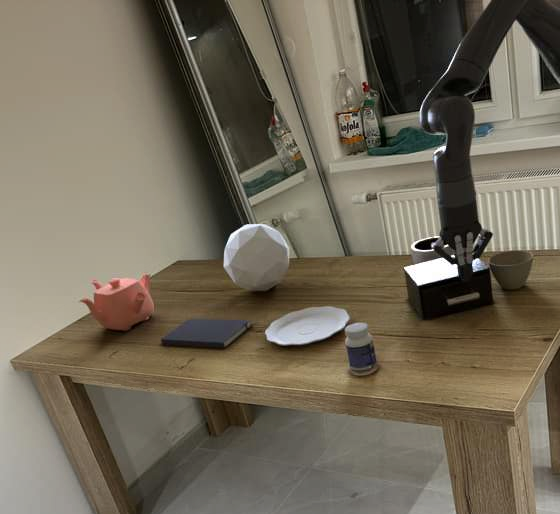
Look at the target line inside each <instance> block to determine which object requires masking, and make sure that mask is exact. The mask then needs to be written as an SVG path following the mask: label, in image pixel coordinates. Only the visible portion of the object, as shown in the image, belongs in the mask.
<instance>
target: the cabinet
mask: <svg viewBox="0 0 560 514" xmlns="http://www.w3.org/2000/svg"><path fill="white" fill-rule="evenodd" d="M451 257H455V256H454V255H453V256H451ZM472 265H473V275H477V274H481V273H483V274H484V273H489V274H490V285H491V295H492V302H488V303H484V304H480V305H476V306H472V307H468V308H464V309H460V310H455V311H451V312H447V313H443V314H439V315H435V316H431V317H427V318H426V316H425V312H424V305H423V298H422V291H421V289H422V288H424V287H428V286H432V285H436V284H440V283H444V282H448V281H452V280H456V279H460V277H459V276H458V269H457V265H456V264H454V265H451V264H450V263H449V262H448V261H446V260H445V259H444V258H441V259H437V260H433V261H429V262H425V263H420V264H416V265H409V266H408V265H407V266H405V267H403V272H404V278H405V285H406V291H407V298H408V301H409V302H410V304H411V305H412V307H413V308H414V309H415V311H416V312H417V314H418V315H419V316H420V318H421V319H422V320H423V321H424V320H428V319H432V318H437V317H440V316H445V315H449V314H452V313H457V312H461V311H465V310H469V309H473V308H477V307H481V306H486V305H489V304H494V298H493V286H492V285H493V284H492V275H491V274H492V273H491V269H490V266H489V265H487V264H486V263H485V262H483V261H482V259H480V258H478V259H475V260H474V261H473V262H472Z"/></svg>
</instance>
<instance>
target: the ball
mask: <svg viewBox="0 0 560 514" xmlns="http://www.w3.org/2000/svg"><path fill="white" fill-rule="evenodd" d="M289 267H290V247H289V245H288V244H287V242H286V241H285V239H284V238H283V236H282V234H281V232H280V231H278V230H277V229H275V228H273V227H272V226H269V225H268V224H263V223H262V224H260V223H259V224H257V223H256V224H255V223H253V224H251V223H249V224H247V223H246V224H245V225H243V226H242V227H240V228H237V230H235V231H234V232H232V233H231V234H230V236H229V237H228V240H227V243H226V244H225V247H224V253H223V269H224V270H225V271H226V273H227V274H228V276H229V277H230V278H231V280H232V282H233V284H236V285H237V286H238V287H240V288H242V289H244V290H245V291H247V292H267V291H269V290H270V289H271V288H273V287H275V286H276V285H278V284H280V283H282V281H283V280H284V277H285V275H286V273H287V271H288V269H289Z"/></svg>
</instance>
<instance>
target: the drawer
mask: <svg viewBox="0 0 560 514" xmlns="http://www.w3.org/2000/svg"><path fill="white" fill-rule="evenodd" d="M490 274H491V273H490ZM490 274H489V273H484V274H483V273H481V274H477V275H473V277H471V280H468V281H463V280H462V279H461V278H460V279H456V280H452V281H448V282H444V283H440V284H436V285H432V286H428V287H424V288H422V289H421V291H422V298H423V305H424V312H425V316H426V318H427V317H431V316H435V315H439V314H443V313H447V312H451V311H455V310H460V309H464V308H468V307H472V306H476V305H480V304H484V303H488V302H492V295H493V294H492V295H491V285H492V284H491V285H490Z"/></svg>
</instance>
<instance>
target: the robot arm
mask: <svg viewBox="0 0 560 514" xmlns="http://www.w3.org/2000/svg"><path fill="white" fill-rule="evenodd" d="M515 22H516V23H517V24H518V26H519V27H520V28H521V30H523V32H524V33H525V35H526V37H527V39H528V40H529V41H530V42H531V44H532V45H533V46H534V48H535V49H536V51H537V52H538V53H539V56H540V57H541V59H542V60H543V62H544V64H545V66H546V67H547V68H548V70H549V71H550V74H552V76H553V77H554V79H555V80H556V81H557V82H558V84H559V85H560V8H558V6H556V5H554V4H552V3H551V2H549V0H490V1H489V3H488V4H487V6H485V8H484V10H483V11H482V12H481V13H480V14H479V16H478V18H476V20H475V21H474V22H473V23H472V25H471V27H470V28H469V29H468V31H467V32H466V33H465V35H464V36H463V38H462V40H461V41H460V43H459V45H458V47H457V50H456V51H455V53H454V56H453V58H452V60H451V61H450V64H449V66H448V69H447V70H446V71H445V73H444V74H443V75H442V76H441V77H440V78H439V80H438V81H437V82H436V83H435V85H434V86H433V87H432V89H431V90H430V91H429V92H428V94H427V95H426V97H425V99H424V100H423V102H422V104H421V106H420V110H419V118H418V119H419V120H418V121H419V125H420V127H421V130H423V131H424V133H426V134H428V135H433V136H440V135H441V136H443V135H446V136H445V137H446V140H445V145H444V146H442V147H440V148H438V149H437V150H436V151H435V152H434V153H433V158H432V160H433V161H432V162H433V169H434V176H435V194H436V201H437V209H438V216H439V224H440V231H439V236H438V237H440V238H439V239H438V240H437V241H436V242H435V243H432V244H431V248H432V249H433V250H434V251H436V252H437V253H438V254H439V255H440V256H442V257H443V258H444V259H445V260H446V261H448V262H449V263H450V264H451V265H454V264H456V265H457V269H458V276H459V277H460V278H461V279H462V280H463V281H468V280H471V277H473V265H472V262H473V261H474V260H475V259H478V258H479V259H480V258H481V257H482V255H483V253H484V252H485V250H486V248H487V247H488V245H489V243H490V241H491V240H492V238H493V236H494V233H493V232H492V231H491V230H489V229H488V228H484V227H483V226H482V224H481V223H480V221H479V211H478V203H477V191H476V185H475V180H474V177H473V169H472V160H471V149H472V143H473V135H474V129H475V124H476V123H475V122H476V121H475V120H476V111H475V108H474V105H473V103H472V101H471V100H470V98H469V97H468V95H470V94H472V93H475V92H477V91H478V90H479V88H481V86H482V84H483V82H484V80H485V78H486V76H487V74H488V72H489V70H490V68H491V66H492V64H493V61H494V60H495V58H496V55H497V53H498V51H499V49H500V47H501V46H502V44H503V42H504V40H505V38H506V37H507V35H508V33H509V32H510V30H511V28H512V27H513V25H514V24H515ZM477 238H478V240H477ZM476 241H477V242H476ZM443 242H445V243H446V244H447V245H448V246H449V247H450V248H452V249H453V252H454V256H455V257H451V256H450V255H449V254H448V253H447V252H446V251H444V248H445V246H444V245H443ZM475 242H476V243H475Z"/></svg>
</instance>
